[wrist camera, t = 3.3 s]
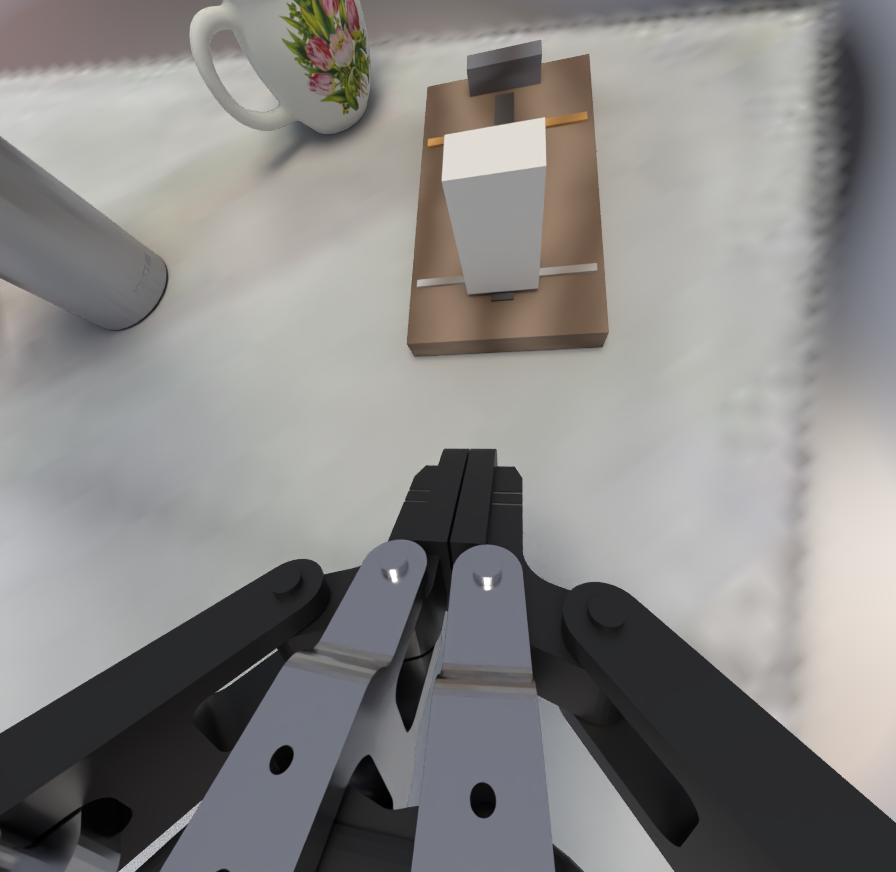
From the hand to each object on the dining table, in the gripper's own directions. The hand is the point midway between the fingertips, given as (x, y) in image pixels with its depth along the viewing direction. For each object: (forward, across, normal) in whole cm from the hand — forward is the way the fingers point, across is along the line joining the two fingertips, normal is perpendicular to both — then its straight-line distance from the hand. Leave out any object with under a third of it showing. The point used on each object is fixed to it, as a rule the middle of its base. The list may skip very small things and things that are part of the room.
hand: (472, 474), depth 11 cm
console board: (+28, 0, -7) cm, 29 cm away
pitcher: (+38, +18, -17) cm, 46 cm away
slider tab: (+20, 0, -3) cm, 21 cm away
